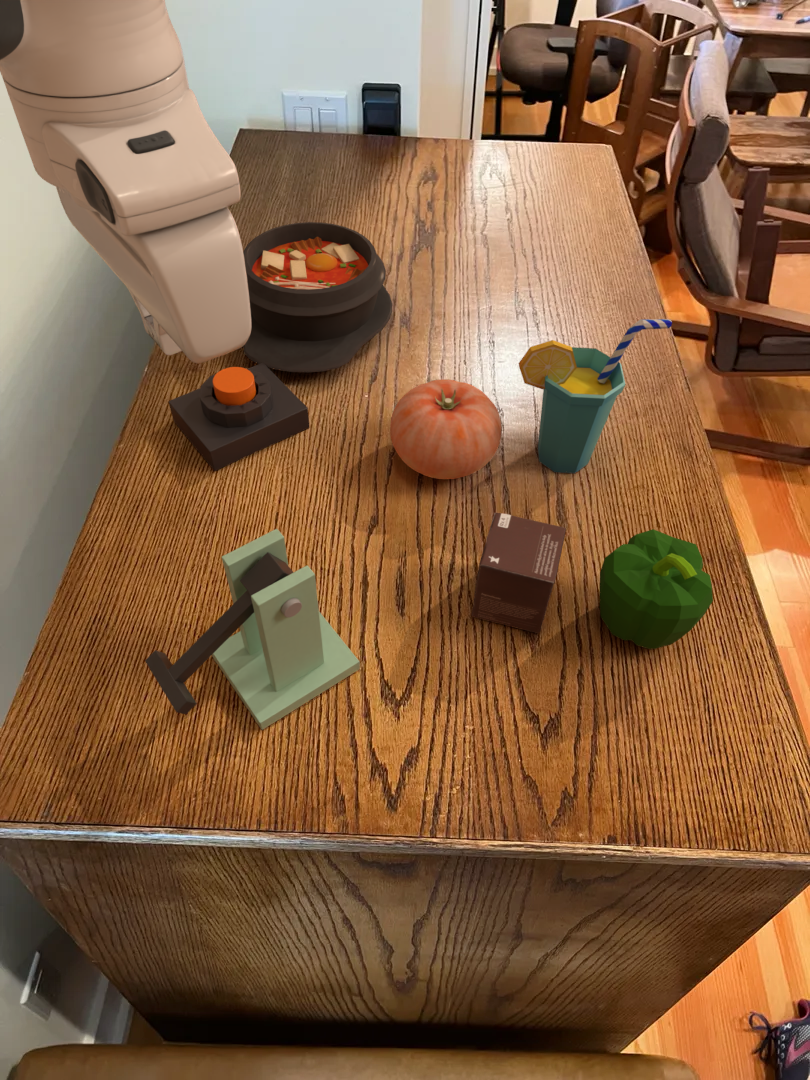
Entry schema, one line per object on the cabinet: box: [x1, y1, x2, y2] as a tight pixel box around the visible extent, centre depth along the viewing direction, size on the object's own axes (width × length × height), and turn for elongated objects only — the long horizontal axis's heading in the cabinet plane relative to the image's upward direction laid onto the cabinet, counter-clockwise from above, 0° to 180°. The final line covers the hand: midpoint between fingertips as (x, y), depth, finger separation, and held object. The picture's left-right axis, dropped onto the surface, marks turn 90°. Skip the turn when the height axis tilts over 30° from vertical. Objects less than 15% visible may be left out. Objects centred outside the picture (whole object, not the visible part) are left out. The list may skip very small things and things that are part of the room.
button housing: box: [167, 363, 310, 472], centre depth 78 cm, size 11×9×4 cm
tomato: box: [389, 379, 503, 480], centre depth 74 cm, size 11×11×8 cm
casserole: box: [242, 221, 393, 373], centre depth 88 cm, size 25×19×8 cm
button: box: [213, 366, 256, 406], centre depth 76 cm, size 4×4×2 cm
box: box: [471, 511, 567, 634], centre depth 63 cm, size 6×6×7 cm
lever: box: [144, 552, 295, 715], centre depth 53 cm, size 12×5×2 cm, turn 127°
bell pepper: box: [599, 528, 714, 650], centre depth 61 cm, size 8×8×10 cm
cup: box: [518, 318, 673, 474], centre depth 72 cm, size 14×8×15 cm, turn 110°
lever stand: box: [211, 528, 361, 731], centre depth 57 cm, size 9×8×13 cm
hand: (168, 342), depth 51 cm, fingers closed
